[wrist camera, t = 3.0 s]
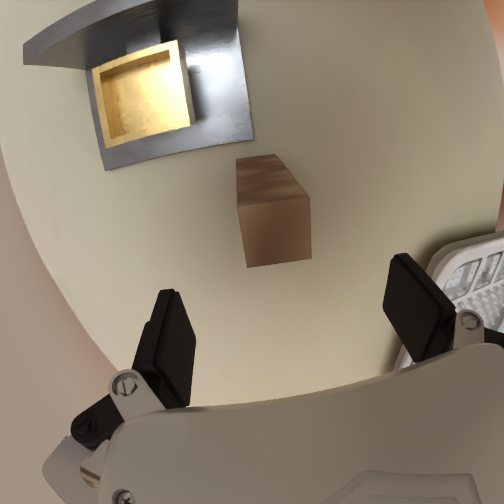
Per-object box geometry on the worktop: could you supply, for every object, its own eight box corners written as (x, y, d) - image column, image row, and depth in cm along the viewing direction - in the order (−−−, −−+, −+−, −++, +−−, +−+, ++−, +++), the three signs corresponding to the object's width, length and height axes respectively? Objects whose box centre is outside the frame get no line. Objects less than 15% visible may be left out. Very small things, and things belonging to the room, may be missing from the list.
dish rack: (374, 377, 51) (386, 406, 44) (410, 227, 32) (443, 257, 25) (473, 337, 50) (487, 358, 43) (520, 208, 31) (546, 226, 24)
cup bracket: (234, 14, 19) (235, -38, 9) (253, 138, 26) (265, 158, 16) (89, 55, 19) (23, 44, 9) (109, 168, 26) (51, 206, 16)
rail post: (274, 154, 27) (309, 197, 15) (278, 190, 29) (311, 258, 17) (236, 159, 27) (237, 206, 15) (241, 195, 29) (247, 267, 17)
